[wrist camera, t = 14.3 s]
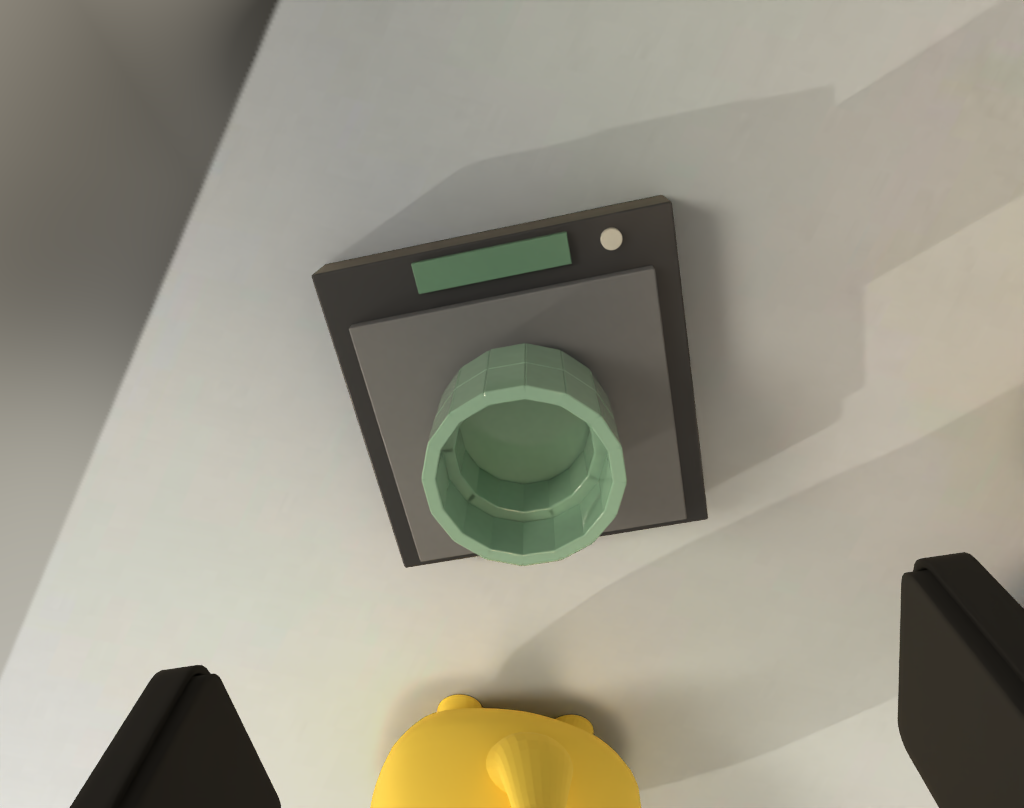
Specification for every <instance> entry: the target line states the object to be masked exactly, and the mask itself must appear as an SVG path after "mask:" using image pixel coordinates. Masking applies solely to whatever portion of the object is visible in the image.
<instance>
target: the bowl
mask: <svg viewBox="0 0 1024 808" xmlns="http://www.w3.org/2000/svg"><path fill="white" fill-rule="evenodd" d="M421 478H422V484H423V487H424V491H425V495H426V498H427V502H428V505H429V509H430V512H431V514H432V515H433V516H434V518H435V519H436V520H437V521H438V523H439V524H440V525H441V526H442V528H443V529H444V530H445V531H446V532H447V534H448V535H449V536H450V537H451V539H452V540H454V542H456V543H458V544H460V545H461V546H463V547H465V548H467V549H468V550H470V551H472V552H474V553H475V554H477V555H479V556H481V557H482V558H484V559H487V560H492V561H497V562H503V563H508V564H514V565H519V566H526V565H533V564H540V563H547V562H553V561H559V560H562V559H564V558H566V557H568V556H570V555H572V554H574V553H576V552H578V551H579V550H581V549H583V548H585V547H587V546H589V545H591V544H592V543H593V542H595V540H596V539H597V538H598V537H599V536H600V535H601V533H602V532H603V531H604V530H605V529H606V528H607V527H608V525H609V524H610V523H611V522H612V521H613V520H614V518H615V517H616V515H617V514H618V511H619V507H620V504H621V501H622V498H623V494H624V491H625V488H626V485H627V476H626V469H625V463H624V456H623V449H622V445H621V441H620V438H619V434H618V430H617V427H616V423H615V419H614V416H613V412H612V408H611V405H610V401H609V399H608V396H607V394H606V393H605V391H604V390H603V388H602V387H601V385H600V383H599V382H598V380H597V379H596V377H595V376H594V374H593V373H592V371H590V369H589V368H587V367H586V366H584V365H583V364H581V363H580V362H578V361H577V360H575V359H574V358H572V357H571V356H569V355H568V354H566V353H565V352H563V351H561V350H558V349H553V348H548V347H543V346H538V345H533V344H528V343H526V344H525V343H523V344H518V345H512V346H506V347H501V348H495V349H491V350H489V351H487V352H485V353H484V354H482V355H480V356H479V357H477V358H476V359H474V360H473V361H471V362H469V363H468V364H466V365H465V366H463V367H462V368H461V369H459V371H458V372H457V373H456V375H455V376H454V378H453V379H452V381H451V382H450V384H449V385H448V386H447V388H446V389H445V391H444V392H443V394H442V396H441V399H440V403H439V406H438V410H437V413H436V416H435V420H434V423H433V426H432V430H431V433H430V437H429V440H428V444H427V448H426V454H425V460H424V465H423V471H422V477H421Z"/></svg>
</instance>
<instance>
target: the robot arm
mask: <svg viewBox="0 0 1024 808" xmlns="http://www.w3.org/2000/svg"><path fill="white" fill-rule="evenodd" d="M898 727H899V732H900V735H901V739H902V741H903V744H904V746H905V749H906V751H907V753H908V754H909V756H910V758H911V760H912V761H913V763H914V765H915V767H916V768H917V770H918V772H919V774H920V775H921V777H922V779H923V781H924V782H925V784H926V786H927V788H928V789H929V791H930V793H931V794H932V796H933V798H934V800H935V801H936V803H937V805H938V807H939V808H1024V609H1023V608H1022V607H1021V606H1020V605H1019V604H1018V603H1017V601H1016V600H1015V599H1014V598H1013V597H1012V596H1011V595H1010V594H1009V593H1008V592H1007V591H1006V590H1005V589H1004V588H1003V587H1002V586H1001V585H1000V584H999V583H998V582H997V581H996V580H995V578H994V577H993V576H992V575H991V574H990V573H989V572H988V571H987V570H986V569H985V568H984V567H983V566H982V565H981V564H980V563H979V562H978V561H977V560H976V559H975V558H974V557H973V556H972V555H970V554H968V553H965V552H963V553H956V554H949V555H943V556H936V557H929V558H922V559H919V560H917V561H916V563H915V564H914V570H913V572H908V573H904V575H903V576H902V582H901V619H900V657H899V695H898ZM70 808H281V804H280V800H279V798H278V795H277V793H276V791H275V789H274V787H273V785H272V783H271V781H270V779H269V777H268V775H267V773H266V771H265V769H264V767H263V765H262V763H261V761H260V758H259V756H258V754H257V752H256V750H255V748H254V746H253V744H252V742H251V740H250V738H249V736H248V734H247V732H246V730H245V728H244V726H243V724H242V722H241V719H240V717H239V715H238V713H237V711H236V709H235V707H234V705H233V703H232V701H231V699H230V697H229V695H228V693H227V691H226V689H225V687H224V685H223V682H222V680H221V679H220V677H219V676H218V675H216V674H210V672H209V671H208V669H207V668H205V667H204V666H202V665H195V666H188V667H181V668H175V669H168V670H161V671H160V672H158V673H156V674H155V675H154V676H153V678H152V679H151V680H150V682H149V683H148V685H147V686H146V688H145V690H144V691H143V693H142V694H141V696H140V697H139V699H138V701H137V702H136V704H135V705H134V707H133V709H132V710H131V712H130V713H129V715H128V716H127V718H126V720H125V721H124V723H123V724H122V726H121V727H120V729H119V731H118V732H117V734H116V735H115V737H114V739H113V740H112V742H111V743H110V745H109V746H108V748H107V750H106V751H105V753H104V754H103V756H102V757H101V759H100V761H99V762H98V764H97V765H96V767H95V769H94V770H93V772H92V773H91V775H90V776H89V778H88V780H87V781H86V783H85V784H84V786H83V787H82V789H81V791H80V792H79V794H78V795H77V797H76V799H75V800H74V802H73V803H72V805H71V806H70Z"/></svg>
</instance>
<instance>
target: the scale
mask: <svg viewBox="0 0 1024 808" xmlns="http://www.w3.org/2000/svg"><path fill="white" fill-rule="evenodd" d="M312 279H313V282H314V285H315V289H316V292H317V295H318V298H319V301H320V304H321V307H322V310H323V314H324V317H325V320H326V323H327V326H328V329H329V332H330V335H331V339H332V342H333V345H334V348H335V351H336V354H337V357H338V360H339V364H340V367H341V370H342V373H343V376H344V379H345V382H346V385H347V389H348V392H349V395H350V398H351V401H352V404H353V407H354V410H355V414H356V417H357V420H358V423H359V426H360V429H361V432H362V435H363V439H364V442H365V445H366V448H367V451H368V454H369V457H370V460H371V463H372V467H373V470H374V473H375V476H376V479H377V482H378V485H379V488H380V492H381V495H382V498H383V501H384V504H385V507H386V510H387V513H388V517H389V520H390V523H391V526H392V529H393V532H394V535H395V538H396V542H397V545H398V548H399V551H400V554H401V557H402V560H403V563H404V566H405V567H406V568H407V567H413V566H419V565H425V564H431V563H438V562H444V561H450V560H456V559H463V558H469V557H475V556H479V555H477V554H475V553H474V552H472V551H470V550H468V549H467V548H465V547H463V546H461V545H460V544H458V543H456V542H454V540H452V539H451V537H450V536H449V535H448V534H447V532H446V531H445V530H444V529H443V528H442V526H441V525H440V524H439V523H438V521H437V520H436V519H435V518H434V516H433V515H432V514H431V512H430V509H429V505H428V502H427V498H426V495H425V491H424V487H423V484H422V478H421V477H422V471H423V465H424V460H425V454H426V448H427V444H428V440H429V437H430V433H431V430H432V426H433V423H434V420H435V416H436V413H437V410H438V406H439V403H440V399H441V396H442V394H443V392H444V391H445V389H446V388H447V386H448V385H449V384H450V382H451V381H452V379H453V378H454V376H455V375H456V373H457V372H458V371H459V369H461V368H462V367H463V366H465V365H466V364H468V363H469V362H471V361H473V360H474V359H476V358H477V357H479V356H480V355H482V354H484V353H485V352H487V351H489V350H491V349H495V348H501V347H506V346H512V345H518V344H523V343H525V344H526V343H528V344H533V345H538V346H543V347H548V348H553V349H558V350H561V351H563V352H565V353H566V354H568V355H569V356H571V357H572V358H574V359H575V360H577V361H578V362H580V363H581V364H583V365H584V366H586V367H587V368H589V369H590V371H592V373H593V374H594V376H595V377H596V379H597V380H598V382H599V383H600V385H601V387H602V388H603V390H604V391H605V393H606V394H607V396H608V399H609V401H610V405H611V408H612V412H613V416H614V419H615V423H616V427H617V430H618V434H619V438H620V441H621V445H622V449H623V456H624V463H625V469H626V476H627V485H626V488H625V491H624V494H623V498H622V501H621V504H620V507H619V511H618V514H617V515H616V517H615V518H614V520H613V521H612V522H611V523H610V524H609V525H608V527H607V528H606V529H605V530H604V531H603V532H602V533H601V535H600V536H605V535H612V534H618V533H624V532H630V531H636V530H643V529H649V528H655V527H661V526H667V525H674V524H680V523H686V522H692V521H699V520H705V519H707V518H708V514H707V505H706V497H705V488H704V479H703V470H702V462H701V453H700V444H699V435H698V427H697V418H696V409H695V401H694V392H693V383H692V374H691V366H690V357H689V348H688V339H687V331H686V322H685V313H684V304H683V296H682V287H681V278H680V270H679V261H678V252H677V243H676V235H675V226H674V217H673V208H672V202H671V201H670V200H668V199H667V198H665V197H664V196H663V195H658V196H653V197H649V198H644V199H639V200H634V201H629V202H624V203H620V204H615V205H610V206H605V207H600V208H595V209H591V210H586V211H581V212H576V213H571V214H566V215H562V216H557V217H552V218H547V219H542V220H538V221H533V222H528V223H523V224H518V225H513V226H509V227H504V228H499V229H494V230H489V231H484V232H480V233H475V234H470V235H465V236H460V237H455V238H451V239H446V240H441V241H436V242H431V243H426V244H422V245H417V246H412V247H407V248H402V249H397V250H393V251H388V252H383V253H378V254H373V255H368V256H364V257H359V258H354V259H349V260H344V261H339V262H335V263H330V264H325V265H324V266H323V267H322V268H320V269H319V270H318V271H317V272H315V273H314V274H313V275H312Z"/></svg>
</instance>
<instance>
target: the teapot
mask: <svg viewBox="0 0 1024 808" xmlns="http://www.w3.org/2000/svg"><path fill="white" fill-rule="evenodd" d="M593 733H594V731H593V726H592V724H591V723H590V722H589V721H588V720H587V719H585V718H584V717H581V716H578V715H564V716H560V717H558V718H556V719H553V718H549V717H546V716H543V715H539V714H534V713H529V712H524V711H517V710H510V709H496V708H483V707H482V705H481V704H480V703H479V702H478V701H477V700H476V699H474V698H472V697H470V696H467V695H452V696H449V697H447V698H445V699H443V700H442V701H441V702H440V704H439V706H438V710H437V712H435V713H432V714H430V715H428V716H426V717H424V718H422V719H421V720H420V721H418V722H417V723H416V724H414V725H413V726H412V727H410V728H409V729H408V730H407V731H406V732H405V733H404V734H403V735H402V736H401V737H400V739H399V740H398V741H397V742H396V743H395V745H394V746H393V747H392V749H391V751H390V753H389V755H388V757H387V759H386V761H385V763H384V765H383V767H382V769H381V772H380V775H379V777H378V780H377V783H376V786H375V790H374V793H373V797H372V802H371V807H370V808H641V804H640V796H639V789H638V785H637V783H636V780H635V778H634V776H633V774H632V772H631V770H630V769H629V767H628V766H627V765H626V764H625V762H624V761H623V760H622V759H621V758H620V756H619V755H618V754H617V753H616V752H615V751H614V750H613V749H612V748H611V747H610V746H608V745H607V744H606V743H605V742H604V741H602V740H601V739H599V738H598V737H596V736H595V735H593Z"/></svg>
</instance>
